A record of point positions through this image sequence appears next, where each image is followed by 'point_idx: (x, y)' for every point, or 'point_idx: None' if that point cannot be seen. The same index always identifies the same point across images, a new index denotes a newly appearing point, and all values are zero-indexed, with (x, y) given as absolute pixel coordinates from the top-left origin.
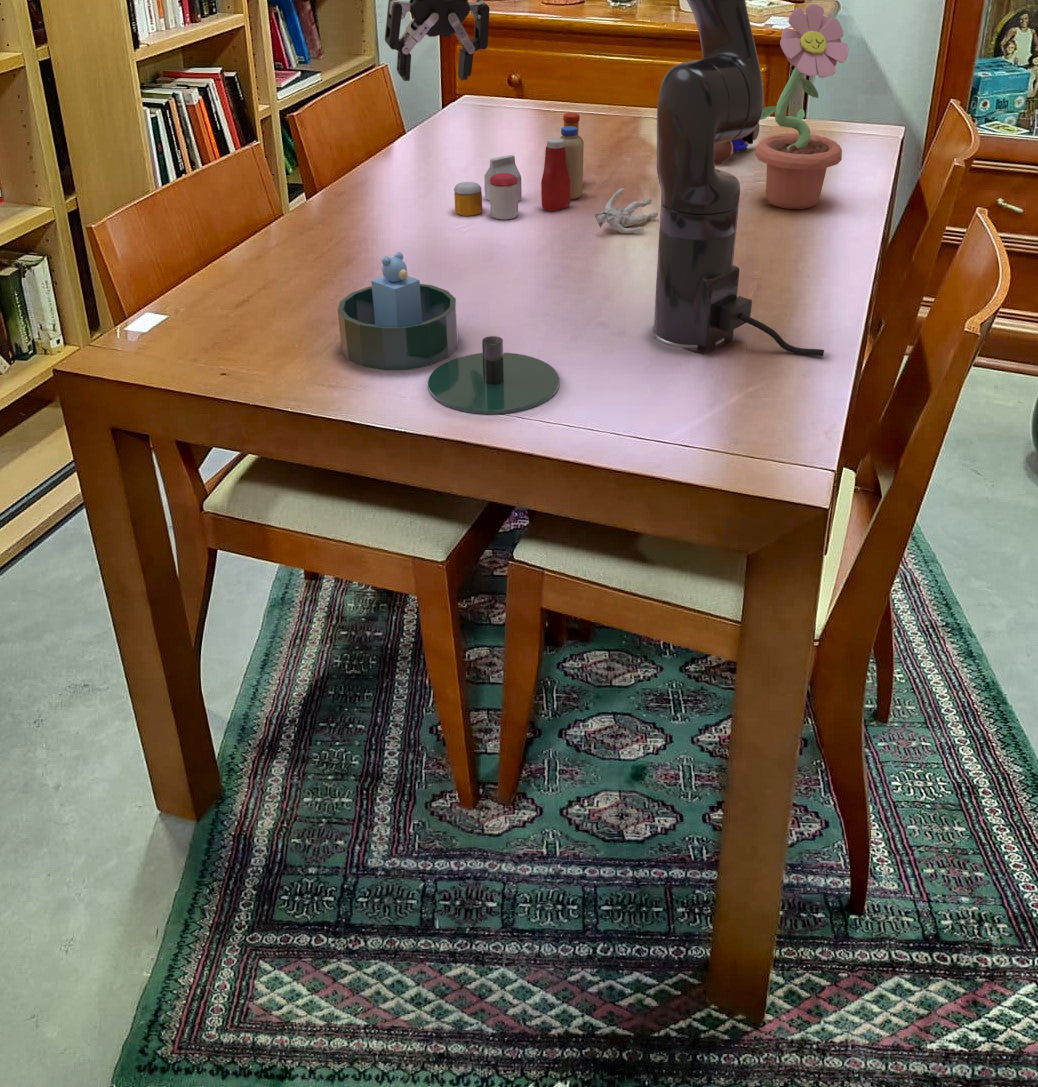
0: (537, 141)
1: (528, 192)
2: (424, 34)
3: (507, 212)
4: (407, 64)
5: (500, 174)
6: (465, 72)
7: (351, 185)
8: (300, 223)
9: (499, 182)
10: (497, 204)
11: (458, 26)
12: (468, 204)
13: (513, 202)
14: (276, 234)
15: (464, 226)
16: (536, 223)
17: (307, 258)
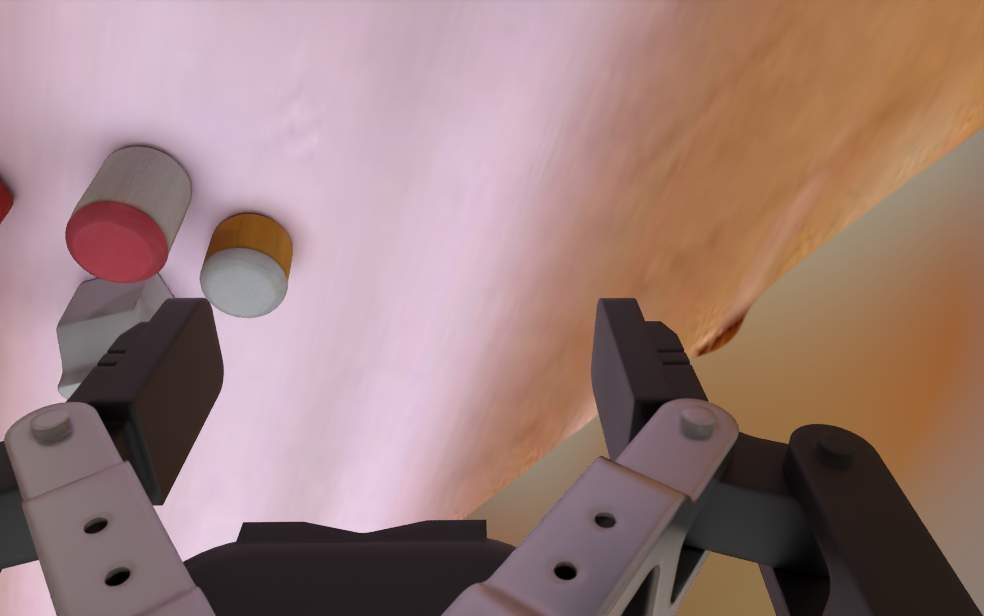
0: (9, 599)
1: (54, 332)
2: (563, 509)
3: (136, 155)
4: (646, 354)
5: (122, 268)
6: (168, 322)
7: (486, 471)
8: (683, 301)
9: (135, 216)
10: (163, 180)
11: (111, 591)
12: (254, 232)
13: (105, 171)
14: (765, 253)
15: (289, 141)
16: (44, 83)
17: (791, 57)
